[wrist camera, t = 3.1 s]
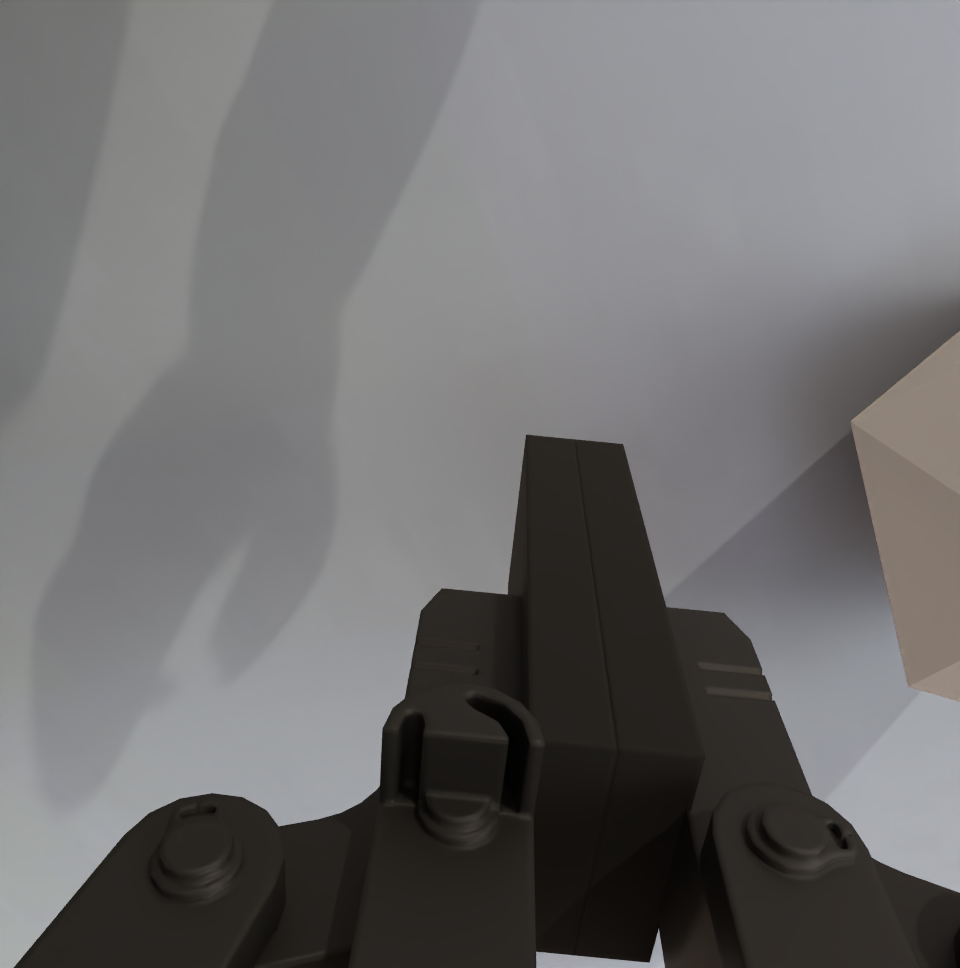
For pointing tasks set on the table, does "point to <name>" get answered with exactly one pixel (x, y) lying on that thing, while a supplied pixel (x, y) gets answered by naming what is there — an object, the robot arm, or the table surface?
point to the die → (919, 512)
